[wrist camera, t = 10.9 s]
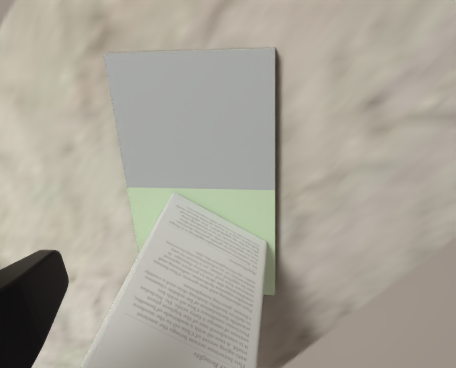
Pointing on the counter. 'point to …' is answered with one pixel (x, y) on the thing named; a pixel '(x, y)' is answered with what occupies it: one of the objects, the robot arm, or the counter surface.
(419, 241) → the counter surface
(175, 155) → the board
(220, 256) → the skincare box
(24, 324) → the robot arm
